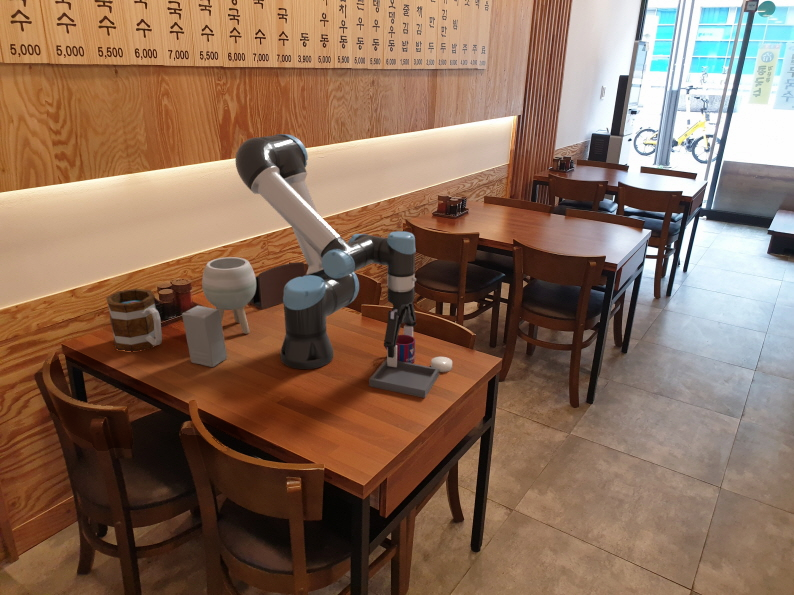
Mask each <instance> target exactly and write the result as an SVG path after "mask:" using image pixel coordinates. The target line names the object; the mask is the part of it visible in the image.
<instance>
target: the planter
mask: <svg viewBox="0 0 794 595" xmlns="http://www.w3.org/2000/svg"><path fill="white" fill-rule="evenodd" d="M204 266H205V267H204V270H203V273H202V279H201V280H202V282H201V283H202V284H201V286H202V292H203V294H204V297H205V298H206V300H207V302H209V303H210V304H211V305H212V306H214V307H215V309H219V312H220V318H221V324H222V322H223V319H224V315H225V314H224V313H225V311H232V313H233V318H234V321H235V323H237V324H239V325H240V328H241V330H242V334H246V335H248V334H249V333H250V327H249V324H248V319H247V314H246V311H245V310H246V309H245V307H247V306H248V304H249V302H250V301H251V299H252V298H253V296H254V294H255V291H256V278H255V277H256V274H255V272H254V271H255V270H254V269H253V267H252V265H251V263H250V261H249V260H248V259H246V258H244V257H239V256H238V257H237V256H236V257H235V256H234V257H233V256H228V257H219V258H215V259H212V260H209V261H208V262H207V263H206V265H204Z"/></svg>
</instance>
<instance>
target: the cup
mask: <svg viewBox="0 0 794 595" xmlns="http://www.w3.org/2000/svg"><path fill="white" fill-rule="evenodd" d="M384 341H385V338H384V340H383V342H384ZM396 345H397V361H402V362H407V363H412V364H415V358H416V357H415V356H416V338H415V337H414V336H413V337H412V336H409V335H404V334H398V338H397V342H396ZM384 348H385V349H386V351H387V347H384Z"/></svg>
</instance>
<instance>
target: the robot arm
mask: <svg viewBox="0 0 794 595" xmlns="http://www.w3.org/2000/svg"><path fill="white" fill-rule="evenodd" d="M308 157H309V156H308V151H307V149H306V146H305V145H304V144H303V142H302V141H301V140H300V139H299V138H297V137H295V136H294V135H292V134H282V133H277V134H273V135H267V136H266V135H265V136H260V137H259V136H257V137H251V138H249V139H246V140H245V141H243V143H242V144H241V145H240V146H239V147H238V149H237V151H236V153H235V160H234V161H235V168H236V171H237V173H238V174H237V175H239V178H240V179H241V180H242V182H243V183H244V185H245V186H246V187H247V188H248V189H249V190H250V191H251V192H252V193H253V194H254V195H260V196H261V197H262V198H263V199H264V200H265V201H266V202H267V203H268V204H269V205H270V206H271V207H272V208H273V209H274V210H275V211H276V212H277V213H278V215H280V216H281V217H282V218H283V219H284V221H285V222H286V223H287V224H288V225H290V227H291V228H292V230H293V233H294V235H295V237H296V240H297V243H298V245H299V248H300V250H301V252H302V254H303V257H304V259H305V262H306V265H307V267H308V269H307V271H306V272H305V276H303V277H297V278H294V279H292V280H290V281H289V282H288V283H287V284H286V285H285V287H284V296H283V303H282V304H283V312H284V327H285V328H284V330H285V335H284V338H283V341H282V345H281V349H280V361H281V362H282V364H283V365H285V366H286V367H289V368H291V369H298V370H313V369H318V368H321V367H324V366H326V365H329V363H330V362H331V361H333V359H334V348H333V345H332V342H331V339H330V337H329V334H328V332H327V317H329V316H331V315H332V314H334V313H336V312H338V311H339V310H341V309H343V308H346V307H347V306H349V305H350V304H352V302H354V301H355V299H356V298H357V297H358V294H359V290H360V282H359V279H358V276H357V273H355V272H356V271H359V270H360V269H363V268H365V267H367V266H369V265H370V264H376V265H381V266H386V267H387V287H388V288H387V301H388V302H389V303H390V304H392V309H391V310H388V315H387V323H386V329H385V336H384V339H385V341H384V340H383V347H384V348H385V347H387V350H386V357H387V358H386V359H387V366H390V367H397V345H396V342H397V338H398V335H400V334H399V333H400V329H401V325H403V324H404V326H403V335H409V336H412V337H414V327H416V326H417V322H416V321H417V317H416V316H417V315H416V311H415V307H414V301H415V282H417V278H416V277H415V275H416V272H415V271H416V270H415V269H416V267H415V266H416V265H415V264H416V251H417V249H416V238H415V237H416V236H415V235H414V233H412V232H409V231H400V230H398V231H392V232H390V233H388V234H387V237H382V236H377V235H370V234H369V233H368V234H367V233H355V234H352V236H351V237H350V238H349V239H348V242H347V241H346V240H345V239H344V238H343V237H342V236H341V235H340V234H339V233H338V232H337V231H336V230H335V229H334V228H333V227H332V226H331V225H330V224H329V223H328V222H327V221H326V220H325V219H324V218H323V217H322V216H321V215H320V214H319V213H318V211H317V208H316V205H315V204H314V201H313V199H312V195H311V193H310V190H309V188H308V185H307V184H306V177H307V175H308V173H307V169H306V167H307V166H308V160H309V158H308Z"/></svg>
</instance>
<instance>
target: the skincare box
mask: <svg viewBox="0 0 794 595" xmlns="http://www.w3.org/2000/svg"><path fill="white" fill-rule="evenodd" d="M181 317H182V321H183V327H184V330H185V331H184V332H185V338H186V342H187V347H188V353H189V357H190V362H191V363H193V364H197V365H201V366H206V367H210V368H215V367H216V366H218V365H219V364H221V363H222V362H223V361H225V360H227V358H228V355H227V354H228V353H227V349H226V348H227V347H226V343H225V336H224V331H223V325H222V323H221V318H220V312H219V309H216V308H212V307H208V306H207V307H206V306H202V305H196V306H194V307H192V308H190V309H188V310H186V311H184V312H183V313H181Z"/></svg>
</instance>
